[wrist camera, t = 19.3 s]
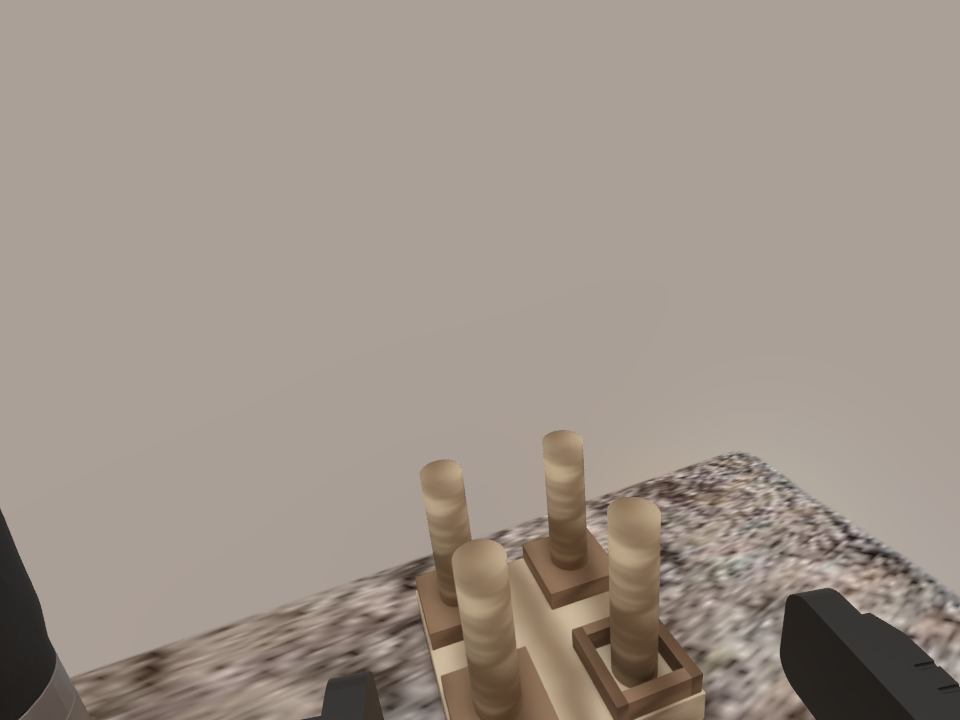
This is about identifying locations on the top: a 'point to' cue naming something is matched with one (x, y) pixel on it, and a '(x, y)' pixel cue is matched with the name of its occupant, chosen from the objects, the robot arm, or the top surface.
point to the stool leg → (634, 589)
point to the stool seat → (535, 613)
